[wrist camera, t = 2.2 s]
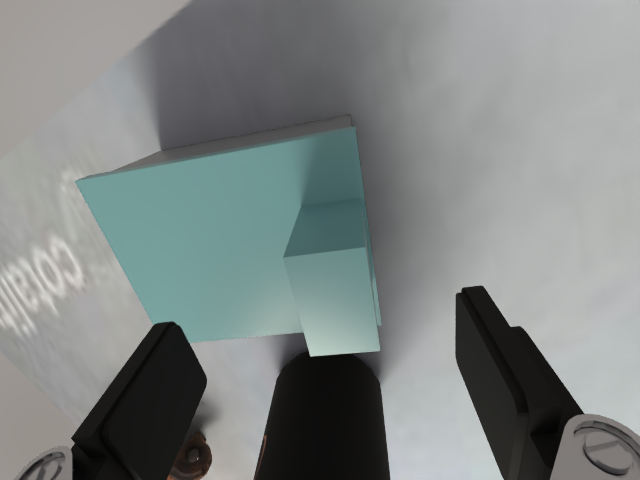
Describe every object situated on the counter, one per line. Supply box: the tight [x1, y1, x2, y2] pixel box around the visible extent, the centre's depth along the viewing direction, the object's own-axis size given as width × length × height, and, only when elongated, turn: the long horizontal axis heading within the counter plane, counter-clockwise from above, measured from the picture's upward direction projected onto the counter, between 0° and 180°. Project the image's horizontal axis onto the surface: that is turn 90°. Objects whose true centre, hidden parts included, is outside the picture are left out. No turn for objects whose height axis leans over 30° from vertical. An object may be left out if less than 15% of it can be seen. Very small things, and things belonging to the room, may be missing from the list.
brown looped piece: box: [167, 431, 212, 480], centre depth 37 cm, size 12×10×8 cm
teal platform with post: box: [75, 126, 382, 356], centre depth 17 cm, size 14×11×8 cm
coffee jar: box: [254, 351, 390, 480], centre depth 26 cm, size 11×11×18 cm
